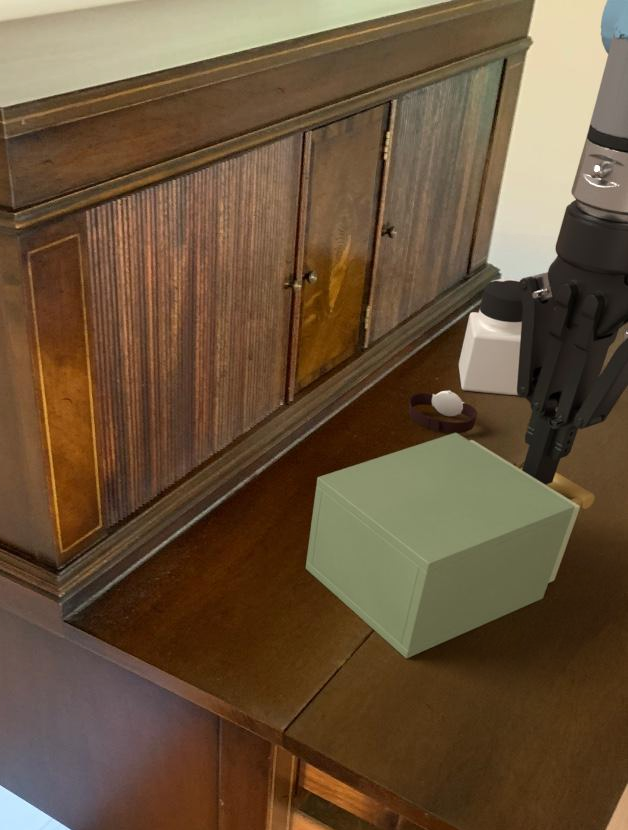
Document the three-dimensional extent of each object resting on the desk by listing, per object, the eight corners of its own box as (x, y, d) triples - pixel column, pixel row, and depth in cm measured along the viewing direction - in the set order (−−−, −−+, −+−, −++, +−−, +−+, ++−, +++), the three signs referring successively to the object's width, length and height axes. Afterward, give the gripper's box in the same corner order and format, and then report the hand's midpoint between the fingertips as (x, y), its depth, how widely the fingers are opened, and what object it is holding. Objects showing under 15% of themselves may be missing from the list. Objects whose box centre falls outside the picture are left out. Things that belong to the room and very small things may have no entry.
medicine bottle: (522, 396, 110) (549, 298, 102) (461, 391, 110) (483, 293, 103) (516, 370, 115) (541, 275, 107) (457, 365, 116) (479, 270, 108)
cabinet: (435, 520, 89) (456, 432, 83) (543, 598, 80) (575, 506, 74) (305, 568, 83) (317, 477, 77) (406, 659, 74) (429, 563, 68)
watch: (479, 424, 104) (486, 395, 102) (465, 442, 101) (472, 412, 99) (414, 406, 107) (420, 377, 105) (399, 422, 104) (405, 393, 102)
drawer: (501, 493, 92) (521, 423, 86) (602, 559, 83) (631, 486, 78) (335, 554, 83) (346, 480, 78) (429, 634, 75) (449, 558, 70)
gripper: (518, 189, 70) (452, 459, 85) (665, 241, 61) (563, 531, 76) (586, 177, 73) (511, 439, 88) (734, 224, 64) (623, 506, 79)
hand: (535, 482), depth 82 cm, fingers closed
